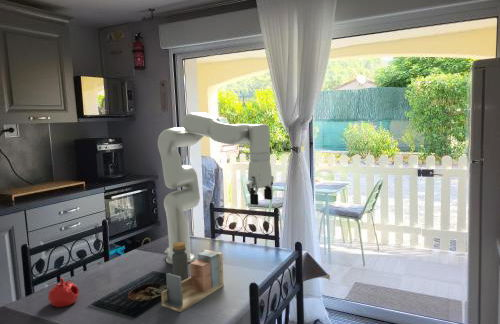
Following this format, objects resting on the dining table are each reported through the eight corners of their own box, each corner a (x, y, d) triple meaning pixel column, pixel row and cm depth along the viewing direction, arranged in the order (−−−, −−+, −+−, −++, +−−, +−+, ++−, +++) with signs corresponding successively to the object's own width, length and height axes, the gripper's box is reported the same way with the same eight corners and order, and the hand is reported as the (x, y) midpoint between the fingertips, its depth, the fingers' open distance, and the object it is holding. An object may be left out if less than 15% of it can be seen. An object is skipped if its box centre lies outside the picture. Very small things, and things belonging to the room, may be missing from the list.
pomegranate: (51, 313, 128) (48, 287, 127) (46, 302, 137) (43, 278, 135) (82, 303, 134) (79, 279, 133) (76, 293, 142) (73, 270, 141)
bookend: (164, 303, 130) (162, 275, 129) (169, 300, 132) (167, 272, 131) (177, 308, 126) (175, 279, 125) (182, 305, 128) (181, 276, 127)
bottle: (191, 278, 153) (189, 241, 151) (183, 284, 147) (181, 246, 146) (178, 276, 155) (176, 240, 153) (170, 282, 149) (168, 245, 148)
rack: (161, 305, 131) (159, 269, 129) (205, 280, 150) (204, 249, 148) (180, 312, 126) (178, 275, 124) (223, 285, 145) (222, 253, 143)
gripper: (263, 154, 152) (265, 196, 154) (238, 159, 137) (240, 205, 139) (280, 155, 147) (281, 198, 149) (255, 160, 133) (257, 207, 135)
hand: (261, 201), depth 144 cm, fingers open, 9 cm apart
